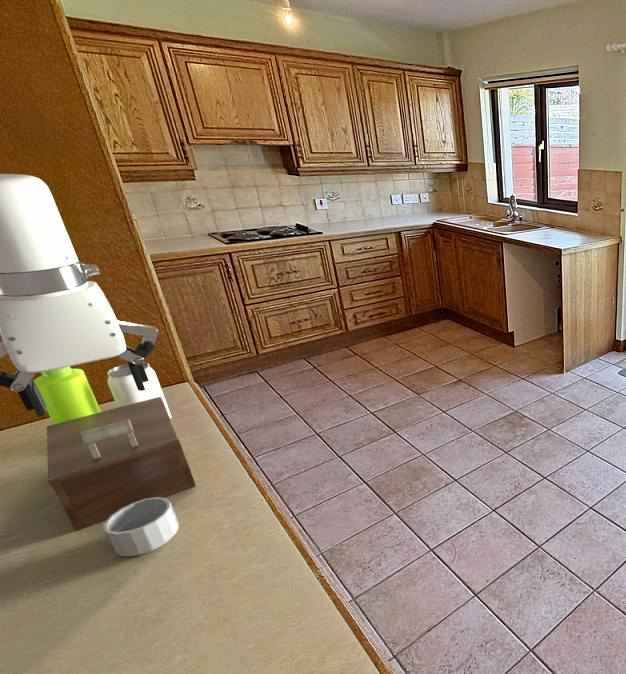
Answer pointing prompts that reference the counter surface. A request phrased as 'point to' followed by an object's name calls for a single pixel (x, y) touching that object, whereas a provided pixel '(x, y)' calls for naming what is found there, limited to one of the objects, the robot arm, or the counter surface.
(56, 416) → the soap dispenser
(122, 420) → the lid
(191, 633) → the counter surface
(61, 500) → the chest
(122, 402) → the can
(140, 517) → the bowl
